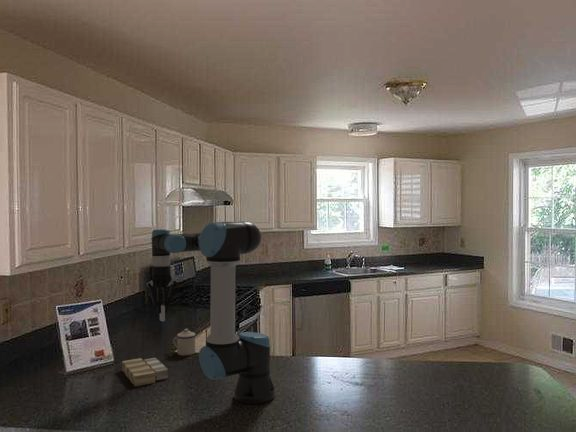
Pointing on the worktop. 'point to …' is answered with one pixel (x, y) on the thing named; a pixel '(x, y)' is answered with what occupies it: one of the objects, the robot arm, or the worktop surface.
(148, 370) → the oak floor row
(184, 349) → the teacup with lid
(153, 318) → the worktop surface
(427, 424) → the worktop surface
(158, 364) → the plank
